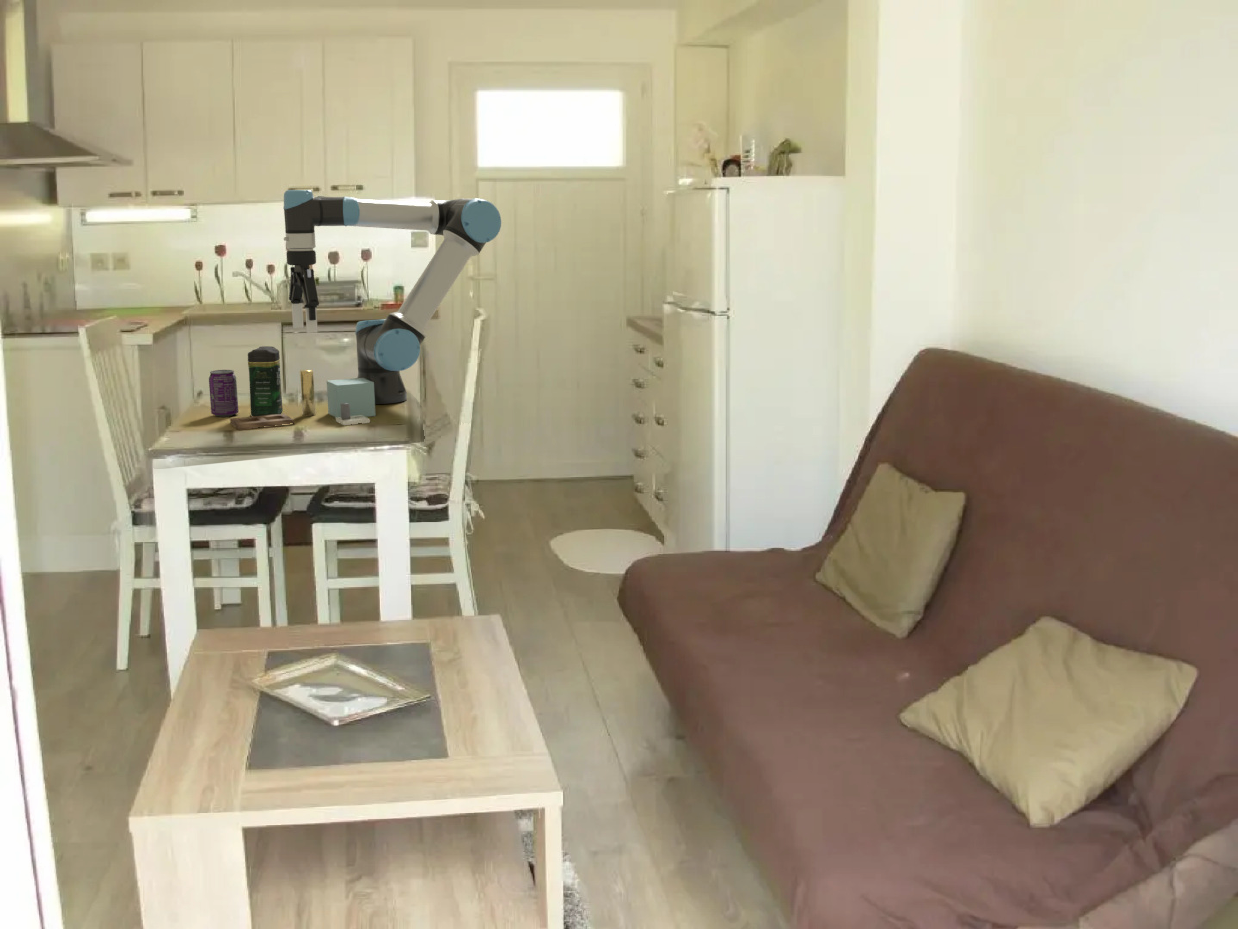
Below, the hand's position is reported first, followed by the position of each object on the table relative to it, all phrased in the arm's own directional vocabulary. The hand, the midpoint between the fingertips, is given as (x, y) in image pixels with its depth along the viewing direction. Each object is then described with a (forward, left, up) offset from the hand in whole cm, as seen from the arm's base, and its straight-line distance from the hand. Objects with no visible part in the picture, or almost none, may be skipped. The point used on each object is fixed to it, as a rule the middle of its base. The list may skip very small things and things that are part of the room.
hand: (305, 330), depth 366 cm
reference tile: (-7, +17, -23) cm, 29 cm away
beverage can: (+20, -11, -23) cm, 33 cm away
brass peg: (0, 0, -23) cm, 23 cm away
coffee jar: (+10, -5, -23) cm, 26 cm away
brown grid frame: (+15, +8, -23) cm, 28 cm away
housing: (-10, +6, -23) cm, 25 cm away
